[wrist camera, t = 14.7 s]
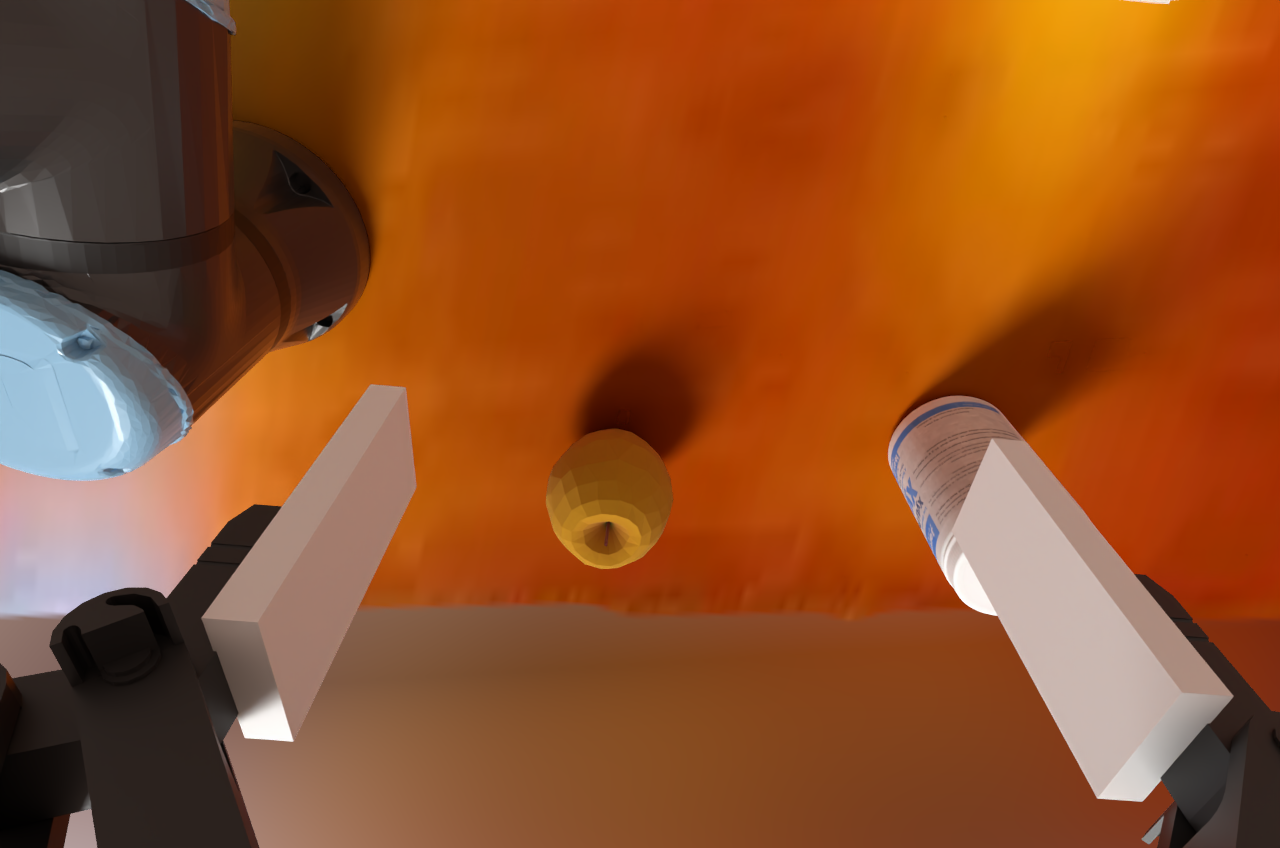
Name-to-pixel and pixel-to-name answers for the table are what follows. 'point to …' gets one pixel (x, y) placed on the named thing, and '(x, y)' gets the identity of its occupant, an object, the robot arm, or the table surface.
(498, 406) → the table surface
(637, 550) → the apple
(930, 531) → the supplement tub
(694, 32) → the table surface
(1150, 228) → the table surface
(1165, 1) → the white square tray
